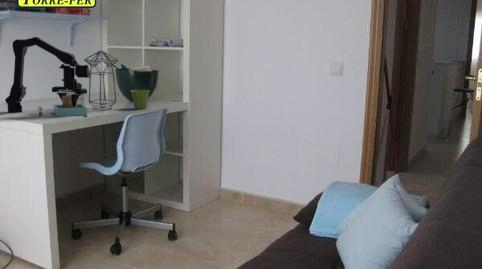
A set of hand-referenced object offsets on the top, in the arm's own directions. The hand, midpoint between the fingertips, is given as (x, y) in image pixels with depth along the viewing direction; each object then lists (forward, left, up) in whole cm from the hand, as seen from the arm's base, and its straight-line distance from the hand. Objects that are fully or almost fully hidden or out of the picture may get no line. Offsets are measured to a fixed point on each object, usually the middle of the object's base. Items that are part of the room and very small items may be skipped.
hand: (69, 106), depth 259 cm
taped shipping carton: (0, 0, -2) cm, 2 cm away
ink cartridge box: (+7, +25, -5) cm, 26 cm away
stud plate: (-15, 0, -5) cm, 16 cm away
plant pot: (+44, +19, -5) cm, 48 cm away
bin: (0, 0, -5) cm, 5 cm away
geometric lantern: (+21, +20, -5) cm, 29 cm away
